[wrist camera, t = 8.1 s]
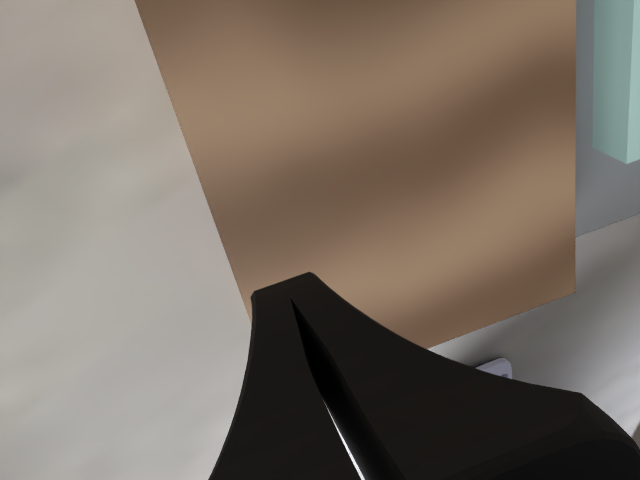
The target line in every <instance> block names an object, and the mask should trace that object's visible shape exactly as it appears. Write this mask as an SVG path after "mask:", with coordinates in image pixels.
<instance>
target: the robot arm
mask: <svg viewBox="0 0 640 480" xmlns="http://www.w3.org/2000/svg"><path fill="white" fill-rule="evenodd" d="M250 298H251V303H252V329H251V339H250V347H249V355H248V361H247V366H246V371H245V375H244V380H243V385H242V389H241V393H240V397H239V401H238V404H237V408H236V411H235V414H234V417H233V420H232V423H231V427H230V429H229V432H228V435H227V437H226V440H225V442H224V445H223V448H222V450H221V453H220V455H219V458H218V460H217V462H216V465H215V467H214V469H213V471H212V473H211V475H210V477H209V479H208V480H361V478H360V476H359V474H358V472H357V470H356V468H355V466H354V464H353V462H352V460H351V458H350V456H349V454H348V452H347V450H346V448H345V446H344V444H343V442H342V440H341V437H340V435H339V433H338V431H337V429H336V427H335V425H334V423H333V420H332V418H333V419H334V421H335V423H336V425H337V427H338V429H339V431H340V433H341V435H342V436H343V438H344V440H345V442H346V444H347V446H348V448H349V450H350V452H351V454H352V455H353V457H354V459H355V461H356V463H357V465H358V467H359V469H360V471H361V472H362V474H363V476H364V478H365V480H640V449H639V447H638V446H637V444H636V443H635V441H634V440H633V439H632V438H631V437H630V436H629V435H628V434H627V433H626V432H625V431H624V430H623V429H622V428H621V427H620V426H619V425H618V424H617V423H616V422H615V421H614V420H613V419H612V418H611V417H609V416H608V415H607V414H606V413H605V412H604V411H603V410H601V409H600V408H599V407H598V406H596V405H595V404H594V403H593V402H591V401H590V400H589V399H588V398H587V397H585V396H584V395H583V394H582V393H578V392H572V391H567V390H562V389H556V388H551V387H546V386H540V385H535V384H530V383H525V382H521V381H517V380H514V379H512V366H511V364H510V362H509V361H508V360H507V359H505V358H499V359H496V360H494V361H491V362H488V363H486V364H483V365H481V366H478V367H476V368H473V367H470V366H467V365H464V364H462V363H459V362H456V361H453V360H450V359H448V358H445V357H443V356H441V355H438V354H436V353H434V352H432V351H429V350H427V349H425V348H423V347H421V346H419V345H417V344H415V343H413V342H411V341H409V340H407V339H405V338H403V337H402V336H400V335H398V334H396V333H394V332H393V331H391V330H389V329H388V328H386V327H384V326H383V325H381V324H379V323H378V322H376V321H375V320H373V319H372V318H370V317H369V316H367V315H366V314H364V313H363V312H361V311H360V310H358V309H357V308H356V307H354V306H353V305H351V304H350V303H349V302H347V301H346V300H345V299H343V298H342V297H341V296H340V295H338V294H337V293H336V292H334V291H333V290H332V289H331V288H330V287H328V286H327V285H326V284H325V283H324V282H323V281H322V280H321V279H320V278H319V277H318V276H317V275H316V274H314V273H311V272H307V273H304V274H301V275H298V276H295V277H292V278H290V279H287V280H284V281H281V282H278V283H276V284H273V285H270V286H267V287H264V288H261V289H259V290H256V291H254V292H253V294H252V295H251V297H250ZM322 398H323V399H322ZM323 400H324V401H323ZM324 402H325V403H324ZM325 404H326V405H325ZM326 406H327V407H326ZM327 408H328V409H327ZM328 410H329V412H330V414H331V416H332V418H331V416H330V414H329V412H328Z"/></svg>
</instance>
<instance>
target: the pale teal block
mask: <svg viewBox="0 0 640 480" xmlns="http://www.w3.org/2000/svg"><path fill="white" fill-rule="evenodd" d="M592 147H593V148H595V149H597V150H599V151H601V152H603V153H605V154H607V155H609V156H611V157H613V158H615V159H617V160H619V161H621V162H623V163H625V164H628V163H631V162H634V161H637V160H639V159H640V0H594V63H593V140H592Z"/></svg>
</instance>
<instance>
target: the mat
mask: <svg viewBox="0 0 640 480" xmlns="http://www.w3.org/2000/svg"><path fill="white" fill-rule="evenodd" d="M593 63H594V0H576V156H575V237H577V236H580V235H583V234H585V233H588V232H591V231H594V230H596V229H599V228H602V227H604V226H607V225H610V224H613V223H615V222H618V221H621V220H624V219H626V218H629V217H632V216H634V215H637V214H640V159H639V160H637V161H634V162H631V163H628V164H625V163H623V162H621V161H619V160H617V159H615V158H613V157H611V156H609V155H607V154H605V153H603V152H601V151H599V150H597V149H595V148H593V147H592V140H593Z"/></svg>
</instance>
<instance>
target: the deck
mask: <svg viewBox="0 0 640 480" xmlns="http://www.w3.org/2000/svg"><path fill="white" fill-rule="evenodd" d="M135 3H136V6H137V8H138V11H139V14H140V17H141V19H142V22H143V25H144V28H145V30H146V33H147V36H148V39H149V42H150V44H151V47H152V50H153V53H154V55H155V58H156V61H157V64H158V66H159V69H160V72H161V75H162V78H163V80H164V83H165V86H166V89H167V91H168V94H169V97H170V100H171V102H172V105H173V108H174V111H175V114H176V116H177V119H178V122H179V125H180V127H181V130H182V133H183V136H184V138H185V141H186V144H187V147H188V149H189V152H190V155H191V158H192V161H193V163H194V166H195V169H196V172H197V174H198V177H199V180H200V183H201V185H202V188H203V191H204V194H205V197H206V199H207V202H208V205H209V208H210V210H211V213H212V216H213V219H214V221H215V224H216V227H217V230H218V233H219V235H220V238H221V241H222V244H223V246H224V249H225V252H226V255H227V257H228V260H229V263H230V266H231V269H232V271H233V274H234V277H235V280H236V282H237V285H238V288H239V291H240V293H241V296H242V299H243V302H244V305H245V307H246V310H247V313H248V316H249V318H250V321H251V324H252V303H251V298H250V297H251V295H252V294H253V292H254V291H256V290H259V289H261V288H264V287H267V286H270V285H273V284H276V283H278V282H281V281H284V280H287V279H290V278H292V277H295V276H298V275H301V274H304V273H307V272H311V273H314V274H316V275H317V276H318V277H319V278H320V279H321V280H322V281H323V282H324V283H325V284H326V285H327V286H328V287H330V288H331V289H332V290H333V291H334V292H336V293H337V294H338V295H340V296H341V297H342V298H343V299H345V300H346V301H347V302H349V303H350V304H351V305H353V306H354V307H356V308H357V309H358V310H360V311H361V312H363V313H364V314H366V315H367V316H369V317H370V318H372V319H373V320H375V321H376V322H378V323H379V324H381V325H383V326H384V327H386V328H388V329H389V330H391V331H393V332H394V333H396V334H398V335H400V336H402V337H403V338H405V339H407V340H409V341H411V342H413V343H415V344H417V345H419V346H421V347H423V348H425V349H428V348H430V347H433V346H436V345H438V344H441V343H444V342H446V341H449V340H451V339H454V338H457V337H459V336H462V335H465V334H467V333H470V332H472V331H475V330H478V329H480V328H483V327H486V326H488V325H491V324H493V323H496V322H499V321H501V320H504V319H506V318H509V317H512V316H514V315H517V314H520V313H522V312H525V311H527V310H530V309H533V308H535V307H538V306H541V305H543V304H546V303H548V302H551V301H554V300H556V299H559V298H562V297H564V296H567V295H569V294H572V293H575V156H576V0H135Z"/></svg>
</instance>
